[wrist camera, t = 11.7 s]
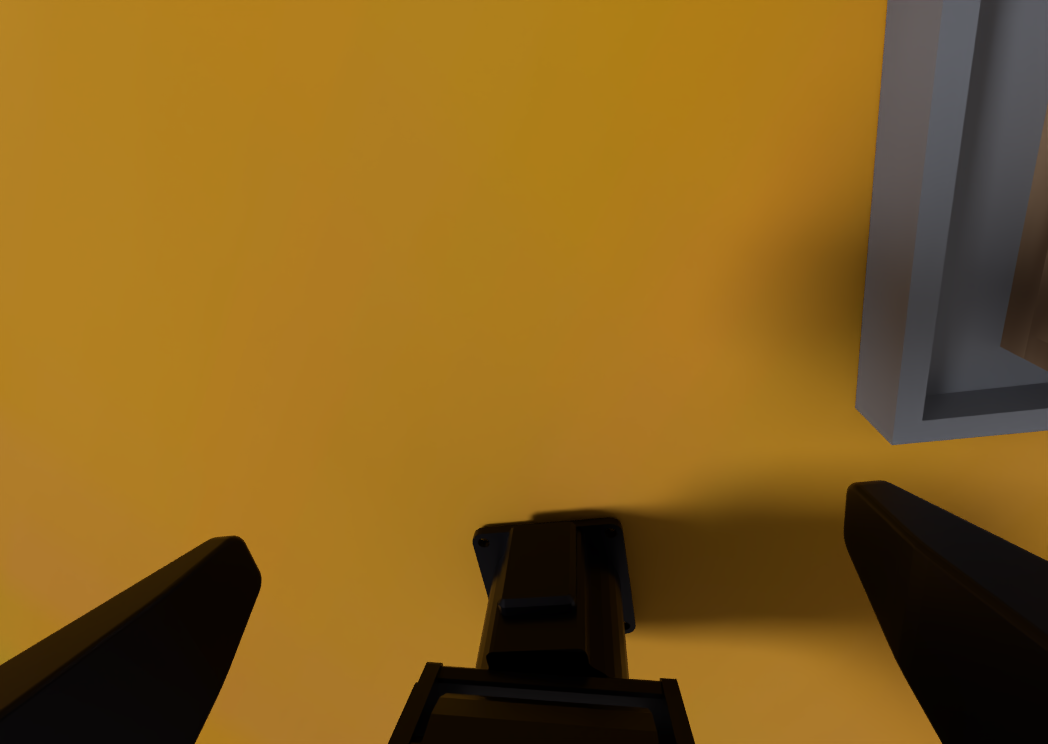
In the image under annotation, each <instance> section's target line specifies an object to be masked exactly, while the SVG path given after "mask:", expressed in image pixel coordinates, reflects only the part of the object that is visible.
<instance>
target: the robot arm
mask: <svg viewBox="0 0 1048 744" xmlns="http://www.w3.org/2000/svg"><path fill="white" fill-rule="evenodd" d="M607 529H614V531H607ZM482 538H484V539H487V540H488V541H483V540H482ZM844 540H845V544H846V547H847V550H848V553H849V555H850V557H851V559H852V562H853V564H854V566H855V569H856V571H857V573H858V576H859V578H860V580H861V582H862V585H863V587H864V589H865V592H866V594H867V596H868V598H869V601H870V603H871V605H872V608H873V610H874V612H875V615H876V617H877V619H878V621H879V624H880V626H881V628H882V631H883V633H884V635H885V637H886V640H887V642H888V644H889V646H890V649H891V651H892V653H893V655H894V657H895V659H896V661H897V663H898V665H899V667H900V669H901V671H902V673H903V675H904V677H905V678H906V680H907V682H908V684H909V686H910V688H911V689H912V691H913V693H914V695H915V696H916V698H917V700H918V702H919V703H920V705H921V707H922V709H923V710H924V712H925V714H926V716H927V718H928V719H929V721H930V723H931V725H932V726H933V728H934V730H935V732H936V733H937V735H938V737H939V739H940V741H941V742H942V744H1048V561H1047V560H1044V559H1042V558H1040V557H1038V556H1036V555H1034V554H1032V553H1030V552H1028V551H1026V550H1024V549H1022V548H1020V547H1018V546H1016V545H1014V544H1012V543H1010V542H1008V541H1006V540H1004V539H1002V538H1000V537H998V536H996V535H994V534H992V533H990V532H988V531H986V530H984V529H982V528H980V527H978V526H976V525H974V524H972V523H970V522H968V521H966V520H964V519H962V518H960V517H958V516H956V515H954V514H952V513H950V512H948V511H946V510H944V509H942V508H940V507H938V506H935V505H933V504H931V503H929V502H927V501H925V500H923V499H921V498H919V497H917V496H915V495H913V494H911V493H909V492H907V491H905V490H903V489H901V488H899V487H897V486H895V485H893V484H891V483H889V482H886V481H867V482H856V483H853V484H851V485H850V486H849V487H848V489H847V494H846V506H845V519H844ZM473 546H474V550H475V553H476V557H477V560H478V564H479V567H480V571H481V574H482V578H483V581H484V585H485V588H486V592H487V595H488V599H489V600H488V606H487V611H486V616H485V621H484V626H483V632H482V637H481V642H480V647H479V652H478V658H477V663H476V668H465V667H451V666H443V663H434V662H427V663H426V665H425V668H424V670H423V672H422V674H421V676H420V679H419V681H418V683H417V682H416V683H415V685H414V687H413V689H412V692H411V694H410V696H409V698H408V700H407V703H406V705H405V707H404V709H403V711H402V714H401V716H400V718H399V720H398V722H397V725H396V727H395V729H394V731H393V734H392V736H391V738H390V740H389V742H388V744H695V742H694V738H693V735H692V731H691V728H690V724H689V721H688V717H687V714H686V710H685V707H684V703H683V700H682V696H681V693H680V689H679V686H678V682H677V679H666V678H660V681H652V680H638V679H629V673H628V662H627V651H626V640H625V634H627V633H631V632H632V631H634V629H635V626H636V625H635V616H634V609H633V602H632V594H631V587H630V580H629V573H628V565H627V558H626V551H625V543H624V536H623V529H622V524H621V522H620V521H619V520H618V519H615V518H596V519H584V520H571V521H559V522H547V523H534V524H522V525H509V526H497V527H485V528H479V529H478V530H476V532H475V533H474V537H473ZM260 588H261V573H260V571H259V569H258V567H257V565H256V563H255V561H254V559H253V557H252V555H251V553H250V551H249V549H248V547H247V545H246V543H245V542H244V540H243V539H241V538H240V537H238V536H224V537H215V538H212V539H209V540H208V541H206V542H204V543H203V544H201V545H199V546H198V547H196V548H194V549H193V550H191V551H189V552H188V553H186V554H184V555H183V556H181V557H179V558H178V559H176V560H174V561H173V562H171V563H169V564H168V565H166V566H164V567H163V568H161V569H159V570H158V571H156V572H154V573H153V574H151V575H149V576H148V577H146V578H144V579H143V580H141V581H139V582H138V583H136V584H134V585H133V586H131V587H130V588H128V589H126V590H125V591H123V592H121V593H120V594H118V595H116V596H115V597H113V598H111V599H110V600H108V601H106V602H105V603H103V604H101V605H100V606H98V607H96V608H95V609H93V610H91V611H90V612H88V613H86V614H85V615H83V616H81V617H80V618H78V619H76V620H75V621H73V622H71V623H70V624H68V625H66V626H65V627H63V628H61V629H60V630H58V631H56V632H55V633H53V634H51V635H50V636H48V637H47V638H45V639H43V640H42V641H40V642H38V643H37V644H35V645H33V646H32V647H30V648H28V649H27V650H25V651H23V652H22V653H20V654H18V655H17V656H15V657H13V658H12V659H10V660H8V661H7V662H5V663H3V664H2V665H0V744H195V742H196V740H197V738H198V736H199V734H200V732H201V730H202V728H203V726H204V724H205V722H206V720H207V718H208V716H209V714H210V711H211V709H212V707H213V705H214V703H215V701H216V699H217V697H218V695H219V692H220V690H221V688H222V686H223V684H224V681H225V679H226V676H227V674H228V671H229V669H230V666H231V664H232V661H233V659H234V656H235V653H236V651H237V648H238V646H239V643H240V640H241V638H242V635H243V633H244V630H245V627H246V625H247V622H248V620H249V617H250V614H251V612H252V609H253V607H254V604H255V602H256V599H257V596H258V594H259V591H260ZM624 622H625V623H624Z"/></svg>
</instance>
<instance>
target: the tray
mask: <svg viewBox="0 0 1048 744" xmlns="http://www.w3.org/2000/svg"><path fill="white" fill-rule="evenodd" d="M1047 105H1048V0H888V4H887V17H886V29H885V42H884V54H883V67H882V79H881V92H880V104H879V117H878V129H877V142H876V155H875V167H874V180H873V192H872V205H871V217H870V230H869V242H868V255H867V267H866V280H865V292H864V305H863V317H862V330H861V342H860V355H859V367H858V380H857V392H856V405H855V408H856V409H857V410H858V411H859V412H860V413H861V414H862V415H863V416H864V417H865V418H866V419H867V420H868V421H869V422H870V423H871V424H872V425H873V426H874V427H875V428H876V429H877V430H878V431H879V432H880V433H881V434H882V435H883V437H884V438H885V439H886V440H887V441H888V442H889V443H890V444H891V445H897V444H908V443H918V442H929V441H940V440H950V439H961V438H971V437H982V436H992V435H1003V434H1013V433H1024V432H1035V431H1045V430H1048V371H1046V370H1044V369H1042V368H1040V367H1038V366H1036V365H1034V364H1032V363H1031V362H1029V361H1027V360H1025V359H1023V358H1021V357H1019V356H1017V355H1015V354H1013V353H1011V352H1009V351H1008V350H1006V349H1004V348H1002V347H1000V344H1001V339H1002V334H1003V329H1004V323H1005V318H1006V313H1007V308H1008V303H1009V298H1010V293H1011V288H1012V283H1013V278H1014V273H1015V267H1016V262H1017V257H1018V252H1019V247H1020V242H1021V237H1022V232H1023V227H1024V222H1025V217H1026V211H1027V206H1028V201H1029V196H1030V191H1031V186H1032V181H1033V176H1034V171H1035V166H1036V161H1037V155H1038V150H1039V145H1040V140H1041V135H1042V130H1043V125H1044V120H1045V115H1046V110H1047Z"/></svg>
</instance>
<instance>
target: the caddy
mask: <svg viewBox="0 0 1048 744" xmlns="http://www.w3.org/2000/svg"><path fill="white" fill-rule="evenodd" d="M1000 347H1002V348H1004V349H1006V350H1008V351H1009V352H1011V353H1013V354H1015V355H1017V356H1019V357H1021V358H1023V359H1025V360H1027V361H1029V362H1031V363H1032V364H1034V365H1036V366H1038V367H1040V368H1042V369H1044V370H1046V371H1048V105H1047V110H1046V115H1045V120H1044V125H1043V130H1042V135H1041V140H1040V145H1039V150H1038V155H1037V161H1036V166H1035V171H1034V176H1033V181H1032V186H1031V191H1030V196H1029V201H1028V206H1027V211H1026V217H1025V222H1024V227H1023V232H1022V237H1021V242H1020V247H1019V252H1018V257H1017V262H1016V267H1015V273H1014V278H1013V283H1012V288H1011V293H1010V298H1009V303H1008V308H1007V313H1006V318H1005V323H1004V329H1003V334H1002V339H1001V344H1000Z"/></svg>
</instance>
